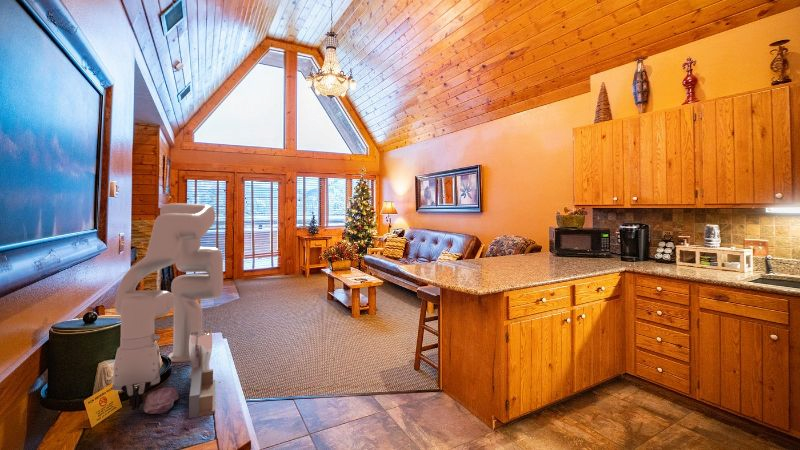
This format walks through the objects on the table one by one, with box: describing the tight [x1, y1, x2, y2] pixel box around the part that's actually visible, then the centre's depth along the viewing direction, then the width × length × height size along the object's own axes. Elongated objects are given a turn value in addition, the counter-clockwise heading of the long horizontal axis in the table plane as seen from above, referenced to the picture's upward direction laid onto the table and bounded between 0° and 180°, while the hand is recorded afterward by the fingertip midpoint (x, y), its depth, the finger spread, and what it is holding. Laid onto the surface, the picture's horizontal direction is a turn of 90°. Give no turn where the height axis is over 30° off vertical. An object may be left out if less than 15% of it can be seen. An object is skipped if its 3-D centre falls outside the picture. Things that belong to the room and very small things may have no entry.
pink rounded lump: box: [143, 386, 180, 415], centre depth 100 cm, size 8×14×5 cm, turn 26°
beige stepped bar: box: [188, 366, 216, 419], centre depth 105 cm, size 20×6×6 cm, turn 28°
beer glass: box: [189, 329, 213, 381], centre depth 119 cm, size 7×7×15 cm
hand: (136, 406), depth 97 cm, fingers closed
